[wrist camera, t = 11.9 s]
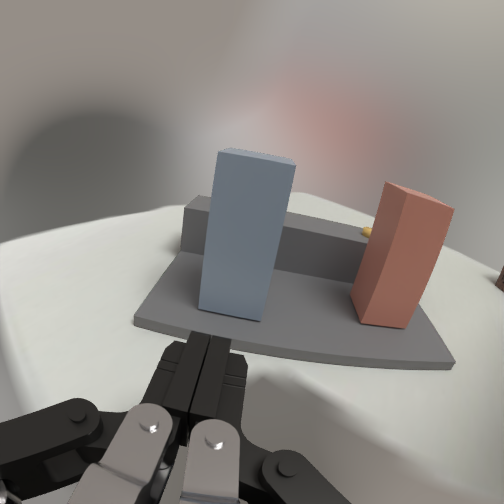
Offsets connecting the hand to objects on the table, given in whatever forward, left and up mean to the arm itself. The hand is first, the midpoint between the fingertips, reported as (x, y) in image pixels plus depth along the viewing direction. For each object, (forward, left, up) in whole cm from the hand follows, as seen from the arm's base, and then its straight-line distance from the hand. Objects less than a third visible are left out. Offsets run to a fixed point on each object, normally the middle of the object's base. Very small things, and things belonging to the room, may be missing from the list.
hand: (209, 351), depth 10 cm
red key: (-14, -15, -6) cm, 21 cm away
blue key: (0, -13, -6) cm, 14 cm away
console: (-7, -18, -7) cm, 20 cm away
